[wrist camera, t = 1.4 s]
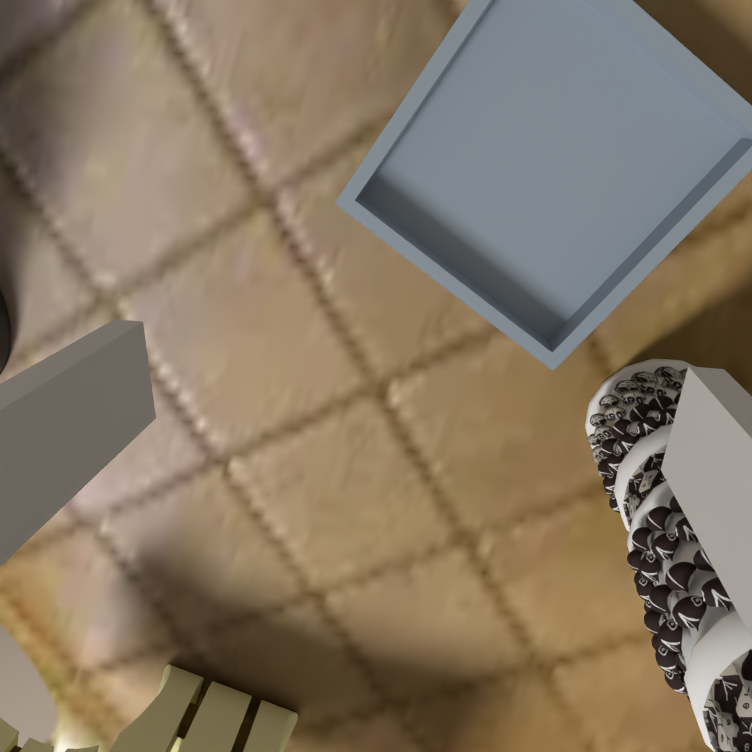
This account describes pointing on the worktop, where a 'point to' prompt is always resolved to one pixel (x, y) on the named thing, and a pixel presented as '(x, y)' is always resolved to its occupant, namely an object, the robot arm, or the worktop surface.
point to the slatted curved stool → (189, 722)
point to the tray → (551, 162)
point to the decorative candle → (671, 553)
